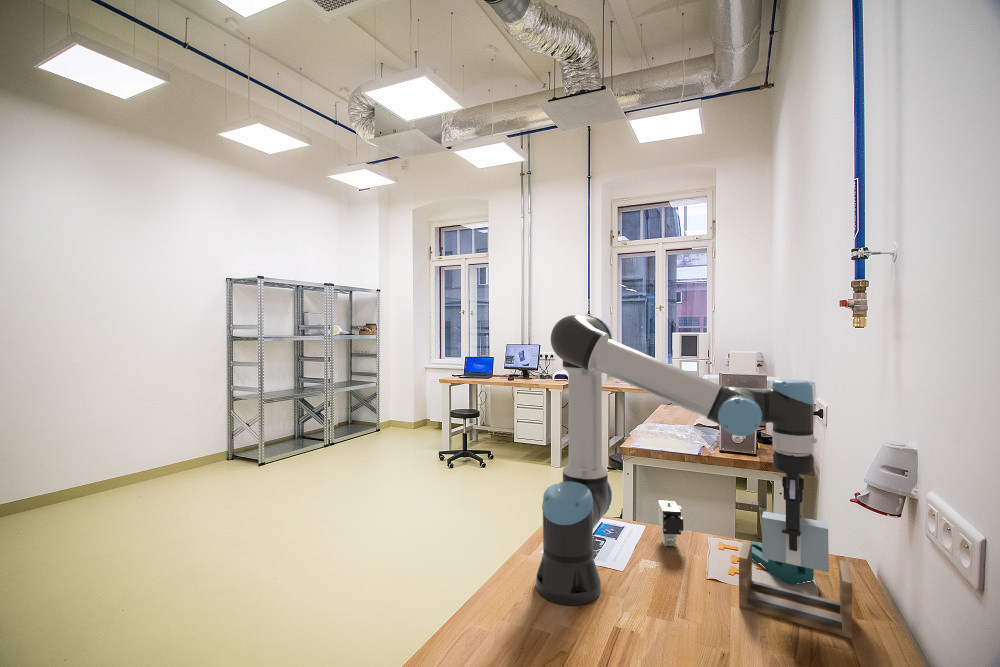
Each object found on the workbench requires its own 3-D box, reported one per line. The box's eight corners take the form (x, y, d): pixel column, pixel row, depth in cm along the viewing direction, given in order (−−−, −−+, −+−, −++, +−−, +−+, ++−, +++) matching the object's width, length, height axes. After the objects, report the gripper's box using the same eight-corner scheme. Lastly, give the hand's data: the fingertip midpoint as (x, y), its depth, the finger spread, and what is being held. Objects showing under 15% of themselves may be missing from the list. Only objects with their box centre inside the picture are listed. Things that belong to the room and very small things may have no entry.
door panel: (762, 558, 104) (761, 517, 104) (763, 550, 107) (763, 511, 107) (828, 572, 98) (828, 528, 97) (828, 564, 101) (827, 522, 101)
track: (739, 606, 104) (738, 557, 104) (744, 585, 112) (744, 539, 112) (852, 638, 93) (852, 583, 93) (848, 612, 101) (848, 561, 101)
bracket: (813, 582, 114) (813, 550, 114) (789, 586, 113) (789, 553, 112) (759, 548, 132) (759, 520, 131) (737, 551, 130) (737, 522, 130)
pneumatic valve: (664, 553, 129) (664, 509, 129) (657, 534, 141) (657, 494, 140) (685, 554, 128) (685, 510, 128) (676, 535, 140) (676, 495, 139)
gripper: (813, 464, 93) (814, 582, 93) (813, 445, 107) (814, 547, 108) (770, 458, 97) (771, 571, 98) (775, 441, 112) (776, 540, 112)
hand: (793, 559), depth 103 cm, fingers closed on door panel, 4 cm apart
